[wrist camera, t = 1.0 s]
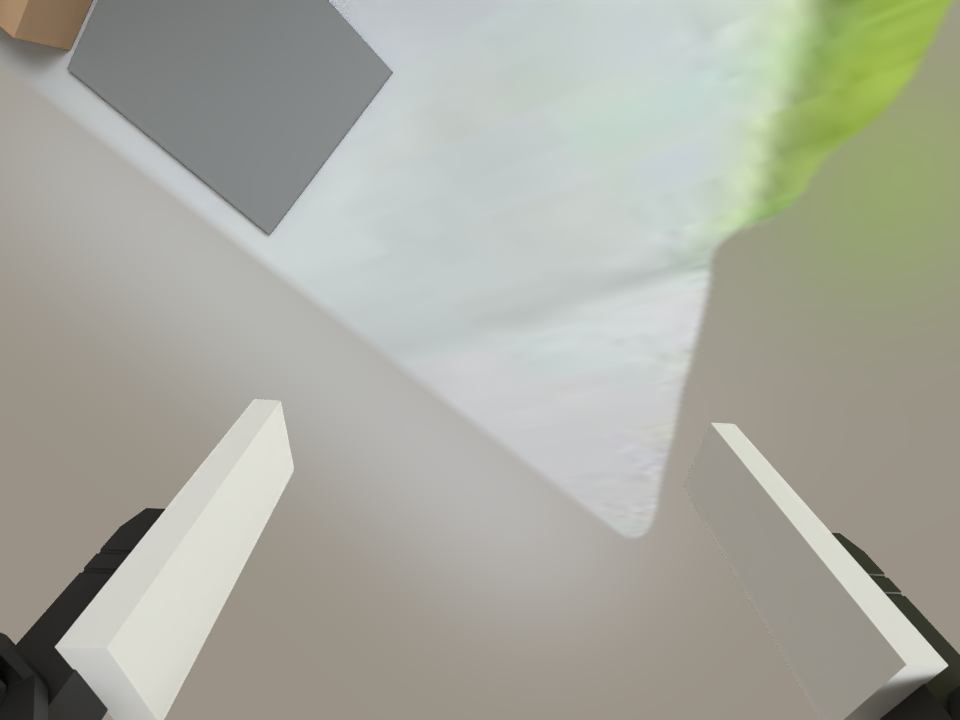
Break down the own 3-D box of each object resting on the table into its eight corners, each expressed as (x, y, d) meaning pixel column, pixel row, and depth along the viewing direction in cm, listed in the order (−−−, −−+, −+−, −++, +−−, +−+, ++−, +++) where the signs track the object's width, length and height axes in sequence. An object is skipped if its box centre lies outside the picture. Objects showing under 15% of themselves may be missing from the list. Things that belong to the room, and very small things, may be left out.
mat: (71, 69, 29) (67, 68, 29) (179, -165, 24) (175, -170, 24) (270, 233, 35) (268, 234, 34) (392, 72, 30) (391, 71, 29)
